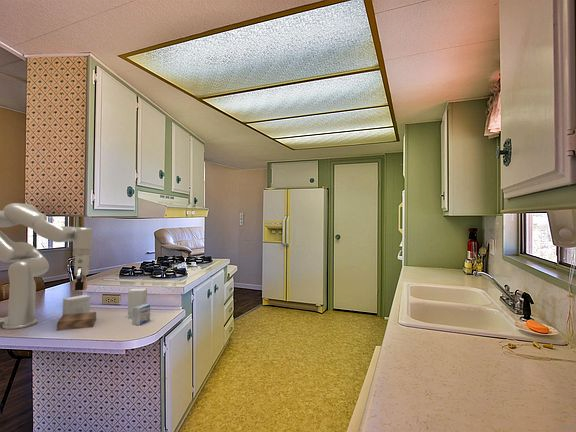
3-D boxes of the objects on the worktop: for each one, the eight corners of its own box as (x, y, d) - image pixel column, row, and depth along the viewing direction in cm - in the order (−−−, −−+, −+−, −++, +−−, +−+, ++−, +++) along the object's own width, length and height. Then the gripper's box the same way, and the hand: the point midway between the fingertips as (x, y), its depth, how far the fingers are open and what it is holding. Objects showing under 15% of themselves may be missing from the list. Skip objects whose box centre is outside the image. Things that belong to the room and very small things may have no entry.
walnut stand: (56, 330, 135) (57, 321, 135) (62, 322, 146) (63, 314, 146) (92, 326, 142) (93, 318, 142) (95, 319, 152) (96, 311, 152)
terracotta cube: (72, 291, 141) (73, 280, 141) (74, 288, 146) (75, 278, 146) (85, 290, 143) (85, 280, 144) (86, 288, 148) (87, 278, 148)
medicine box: (139, 325, 146) (140, 308, 146) (131, 324, 147) (132, 307, 147) (149, 320, 154) (150, 304, 154) (142, 320, 155) (143, 303, 155)
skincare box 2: (146, 314, 164) (148, 287, 164) (143, 317, 158) (144, 290, 158) (130, 314, 162) (131, 287, 163) (126, 318, 156) (128, 290, 157)
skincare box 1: (83, 313, 162) (84, 294, 162) (89, 315, 159) (90, 296, 159) (61, 318, 153) (62, 298, 153) (67, 320, 150) (69, 299, 150)
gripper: (88, 253, 139) (86, 292, 139) (93, 250, 155) (91, 285, 154) (69, 253, 136) (66, 293, 135) (76, 250, 151) (74, 286, 150)
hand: (80, 288), depth 145 cm, fingers closed on terracotta cube, 5 cm apart
